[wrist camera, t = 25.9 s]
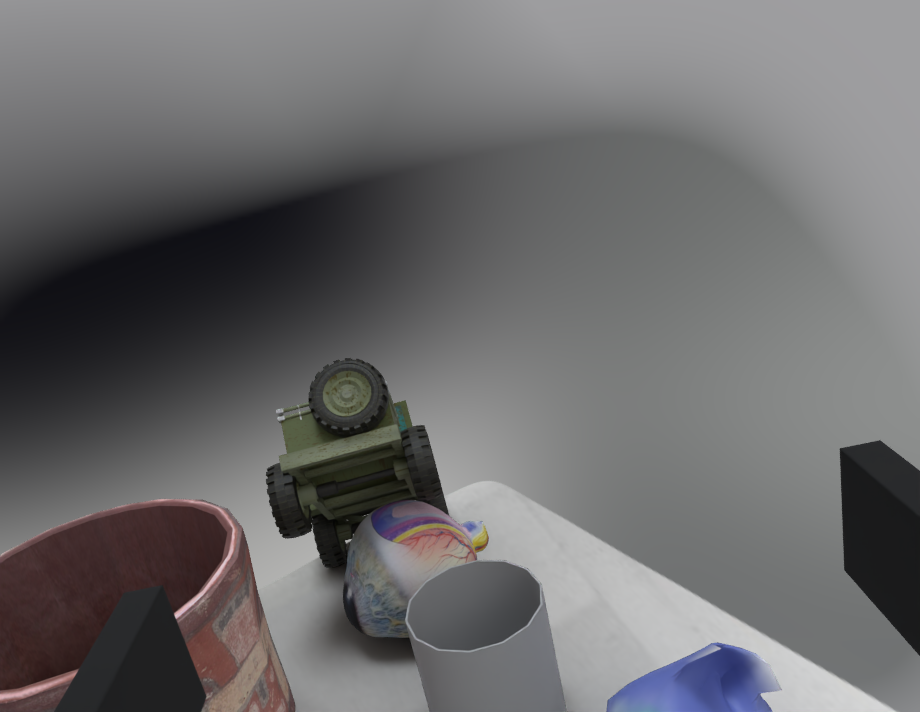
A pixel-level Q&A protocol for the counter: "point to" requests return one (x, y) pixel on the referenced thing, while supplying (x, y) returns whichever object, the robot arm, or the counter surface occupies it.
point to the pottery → (128, 569)
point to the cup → (484, 640)
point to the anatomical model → (402, 561)
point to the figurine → (702, 684)
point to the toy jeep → (348, 459)
